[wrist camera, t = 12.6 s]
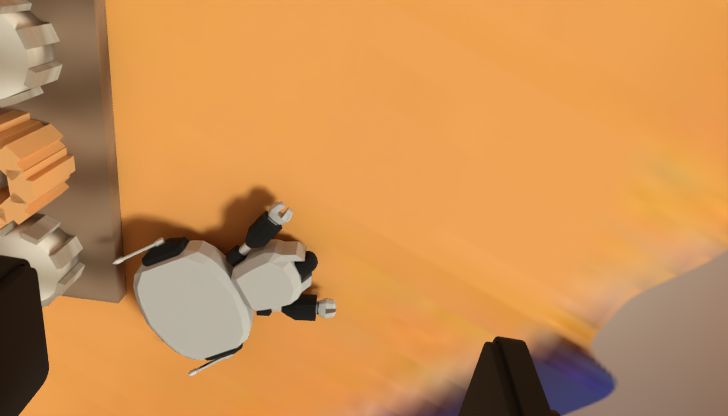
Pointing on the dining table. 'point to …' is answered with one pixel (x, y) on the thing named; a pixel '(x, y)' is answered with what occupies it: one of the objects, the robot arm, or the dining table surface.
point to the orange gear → (30, 166)
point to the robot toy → (224, 288)
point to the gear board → (66, 144)
